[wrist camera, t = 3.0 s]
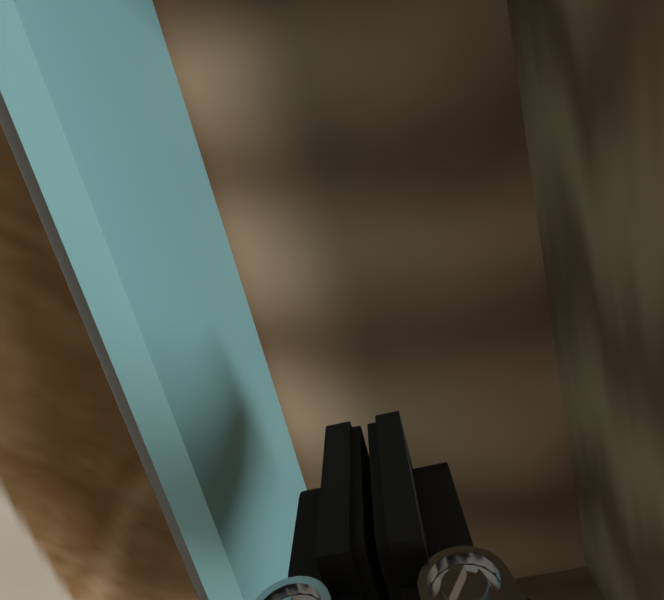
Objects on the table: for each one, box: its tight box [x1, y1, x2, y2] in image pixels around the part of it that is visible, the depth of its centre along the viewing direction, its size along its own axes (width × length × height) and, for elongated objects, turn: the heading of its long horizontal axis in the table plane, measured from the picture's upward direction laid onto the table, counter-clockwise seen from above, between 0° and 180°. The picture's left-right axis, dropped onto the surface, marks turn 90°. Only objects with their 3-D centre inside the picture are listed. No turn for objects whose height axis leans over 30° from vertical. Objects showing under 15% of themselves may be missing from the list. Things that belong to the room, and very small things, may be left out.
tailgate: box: [0, 0, 307, 600], centre depth 15 cm, size 24×1×8 cm, turn 14°
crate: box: [152, 0, 664, 600], centre depth 16 cm, size 27×12×10 cm, turn 14°
